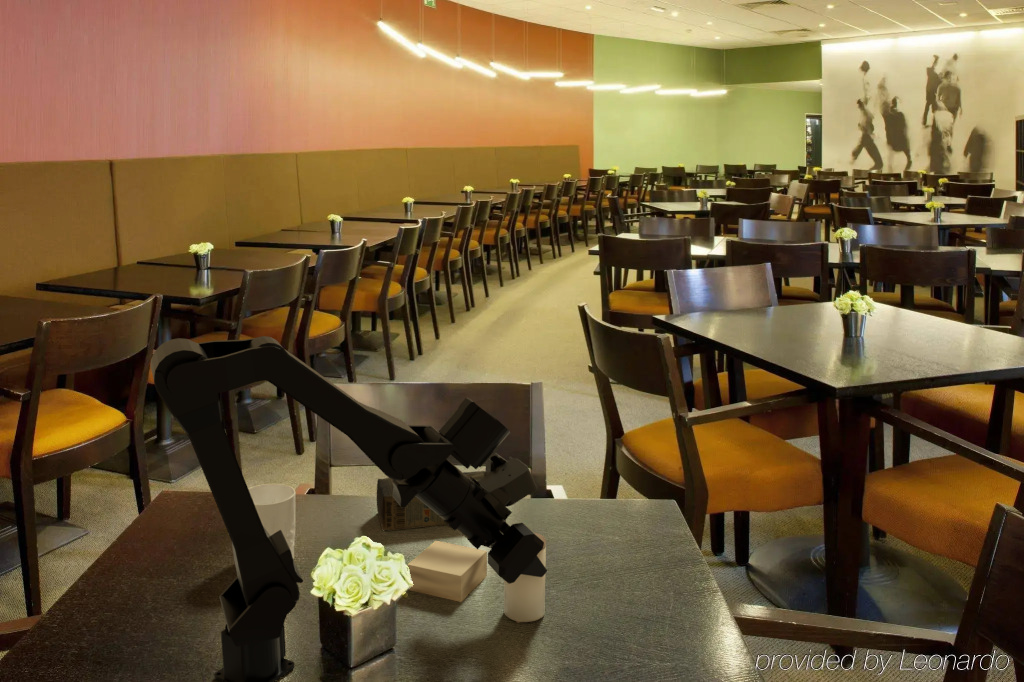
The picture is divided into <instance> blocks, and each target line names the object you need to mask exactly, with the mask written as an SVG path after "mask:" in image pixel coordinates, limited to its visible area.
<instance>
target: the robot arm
mask: <svg viewBox="0 0 1024 682" xmlns="http://www.w3.org/2000/svg"><path fill="white" fill-rule="evenodd" d="M150 369H151V374H152V380H153V383H154V388H155V391H156V393H157V394H158V395H159V397H160V399H161V400H162V401H163V404H164V405H165V406H166V408H167V409H168V411H169V412H170V414H171V415H172V417H173V418H174V419H175V421H176V422H177V424H178V425H179V426H180V428H181V429H182V430H183V432H184V433H185V434H186V435H187V437H188V439H189V442H190V443H191V445H192V448H193V450H194V452H195V455H196V458H197V460H198V463H199V465H200V468H201V470H202V472H203V475H204V477H205V480H206V482H207V485H208V488H209V489H210V492H211V494H212V497H213V499H214V501H215V505H216V507H217V509H218V511H219V513H220V517H221V518H222V521H223V524H224V526H225V528H226V531H227V533H228V535H229V538H230V541H231V547H232V553H233V561H234V566H235V570H236V577H235V578H234V579H233V580H232V581H231V582H230V583H229V584H228V585H227V587H225V589H224V590H223V591H222V592H221V593H220V595H218V596H219V601H220V604H221V608H222V612H223V616H224V619H225V628H224V629H223V630H221V631H220V638H221V641H220V642H221V652H222V668H220V669H219V670H217V671H216V672H214V674H213V679H214V680H216V681H218V682H277V681H278V680H279V679H280V678H282V677H283V676H285V675H286V674H287V673H289V672H290V671H292V670H293V669H294V668H295V667H296V666H295V665H296V663H295V662H294V661H293V660H290V659H287V658H285V657H286V656H287V655H286V654H287V652H286V651H287V650H286V634H285V622H286V619H287V616H288V615H289V614H290V613H291V611H293V610H294V609H295V607H296V605H297V603H298V601H299V600H300V596H301V593H300V587H299V585H298V584H299V583H300V584H302V583H303V582H304V580H303V578H302V577H303V576H302V575H301V574H300V571H299V569H298V567H297V564H296V562H295V560H294V559H293V557H292V553H291V550H290V548H289V546H288V543H287V541H286V539H285V537H284V535H283V533H282V531H281V530H279V531H277V532H276V533H274V534H273V535H271V536H270V535H269V533H268V532H267V530H266V529H265V528H264V526H263V525H262V522H261V520H260V517H259V515H258V512H257V510H256V507H255V505H254V502H253V500H252V497H251V495H250V492H249V490H248V488H249V487H248V484H247V482H246V480H245V477H244V474H243V472H242V469H241V467H240V464H239V462H238V460H237V457H236V455H235V451H234V449H233V447H232V444H231V442H230V439H229V437H228V435H227V431H226V429H225V427H224V423H223V415H222V409H221V399H220V395H219V394H220V393H221V394H222V393H225V392H229V391H230V392H231V391H233V390H236V389H239V388H242V387H245V386H248V385H251V384H254V383H259V382H263V381H266V382H269V383H270V384H271V385H272V386H274V387H276V388H277V389H278V390H280V391H282V393H285V394H286V395H288V396H289V397H290V398H292V399H293V400H294V401H296V402H298V403H299V404H300V405H302V406H303V407H305V408H307V410H309V411H311V412H312V413H313V414H315V415H316V416H318V417H319V418H320V419H322V420H324V421H325V422H327V423H328V424H329V425H331V426H333V427H334V428H335V429H337V430H338V431H340V432H341V433H343V434H344V435H345V436H347V437H348V438H349V439H350V440H351V441H352V442H353V443H354V444H355V445H356V446H357V447H358V449H359V450H361V452H362V453H364V455H365V456H366V457H367V458H368V460H370V461H371V462H372V463H373V464H374V465H375V466H376V467H377V468H378V469H379V470H380V471H381V472H382V473H383V474H384V475H385V476H386V478H391V479H393V480H392V483H393V486H394V488H393V498H394V499H395V500H396V501H397V503H398V504H399V505H400V506H401V507H402V508H405V507H406V506H407V505H408V504H409V503H410V502H411V501H412V499H413V498H414V497H417V498H418V499H419V500H420V501H421V502H423V503H424V504H425V505H426V506H428V507H429V508H430V509H431V510H433V511H434V512H435V513H436V514H437V515H439V516H440V517H441V518H442V519H443V520H444V521H445V522H446V523H447V524H448V525H447V526H448V527H450V528H451V530H453V531H457V532H458V533H459V534H461V535H462V537H464V538H466V539H467V541H468V542H469V543H470V545H472V546H473V548H475V549H479V548H481V546H483V547H486V548H489V549H490V550H489V551H487V552H488V553H487V564H488V565H489V566H490V568H491V569H492V570H493V571H494V572H495V573H496V574H497V575H498V576H499V577H500V578H501V579H503V581H504V580H505V581H506V582H507V583H509V584H510V583H513V582H515V581H516V580H517V578H518V577H519V576H520V575H521V574H523V575H529V576H536V577H543V576H544V575H545V576H546V574H547V572H548V569H547V568H546V565H545V566H544V565H543V564H542V562H541V561H540V559H539V558H538V556H537V555H538V553H539V552H540V551H541V550H542V549H543V545H544V542H543V541H542V540H541V539H540V538H539V537H538V536H537V535H536V534H535V533H536V532H534V531H532V530H531V528H530V527H528V526H527V525H526V524H524V523H523V522H518V523H512V524H511V525H509V524H508V522H507V519H508V518H509V517H510V516H511V514H512V513H513V512H512V511H511V510H510V509H509V507H511V506H513V505H515V504H516V503H518V502H520V501H521V500H523V499H525V498H526V497H527V496H531V495H533V494H534V493H536V492H537V490H538V485H537V484H536V482H535V479H534V476H533V475H532V472H531V470H530V468H529V466H528V465H526V464H525V462H522V461H521V460H520V459H519V458H517V457H512V456H508V457H507V459H508V460H506V459H505V458H504V457H502V456H501V455H500V454H498V453H496V452H495V450H497V449H498V447H499V446H500V445H501V444H502V442H504V440H505V439H506V438H507V437H508V436H509V434H510V433H511V431H510V429H508V428H507V427H506V426H505V424H503V423H502V422H501V421H500V420H498V419H497V418H496V417H494V416H493V414H490V413H489V412H488V411H486V410H485V409H483V408H482V407H481V406H479V405H478V404H477V403H476V402H475V401H473V400H472V399H471V398H469V397H464V399H463V400H462V401H461V403H460V404H459V405H458V407H457V409H456V411H455V412H454V413H453V414H452V415H451V416H450V417H449V419H448V420H447V421H446V422H445V423H444V425H442V427H441V428H440V429H439V430H437V429H436V428H435V427H434V426H433V425H429V424H426V425H425V424H407V423H406V422H405V421H403V420H402V419H399V418H397V417H395V416H393V415H391V414H388V413H387V412H384V411H382V410H381V409H377V408H375V407H371V406H368V405H366V404H364V403H362V402H360V401H358V400H357V399H355V398H354V397H353V396H351V395H349V393H347V392H346V391H344V390H343V389H341V388H340V387H338V386H337V385H336V384H334V382H331V380H329V379H327V377H325V376H323V375H321V374H320V373H319V372H317V371H316V370H315V369H314V368H312V367H311V366H309V365H308V364H307V363H305V362H304V361H303V360H301V359H299V358H298V357H297V356H295V355H294V354H292V353H291V352H289V351H288V350H287V349H285V347H283V345H281V344H280V343H279V341H278V340H277V339H275V338H273V337H271V336H264V335H262V336H258V337H253V338H247V339H226V340H224V339H223V340H221V339H220V340H209V341H204V342H196V341H193V340H191V339H188V338H183V337H182V338H179V337H177V338H174V339H173V338H172V339H169V340H167V341H165V342H163V343H161V344H160V345H159V346H158V347H157V348H156V349H155V351H154V352H153V354H152V357H151V359H150ZM450 456H452V457H453V458H454V459H455V460H456V461H458V463H460V465H462V466H463V467H465V469H467V470H468V469H469V468H470V467H472V468H474V469H475V470H477V469H479V468H481V467H482V466H483V465H484V464H485V471H486V472H484V475H485V477H483V478H482V479H481V480H479V481H477V480H475V479H474V478H473V477H472V476H470V477H468V476H466V475H465V474H464V473H463V471H462V470H460V469H459V468H458V467H457V466H456V465H454V464H453V462H451V461H450V460H449V458H450Z"/></svg>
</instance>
